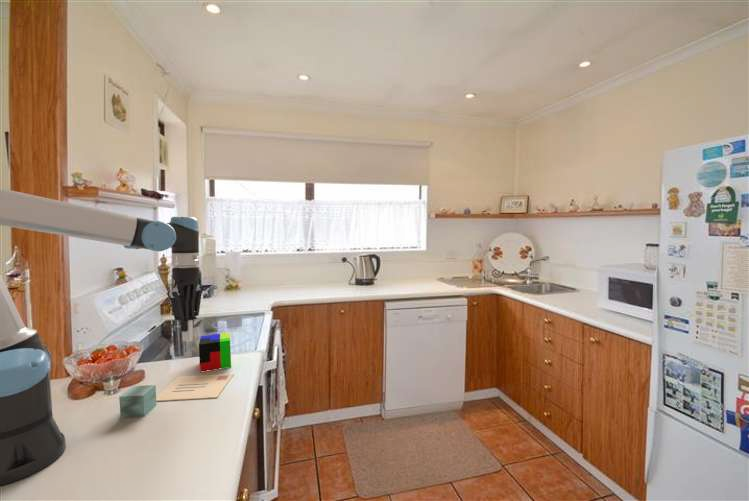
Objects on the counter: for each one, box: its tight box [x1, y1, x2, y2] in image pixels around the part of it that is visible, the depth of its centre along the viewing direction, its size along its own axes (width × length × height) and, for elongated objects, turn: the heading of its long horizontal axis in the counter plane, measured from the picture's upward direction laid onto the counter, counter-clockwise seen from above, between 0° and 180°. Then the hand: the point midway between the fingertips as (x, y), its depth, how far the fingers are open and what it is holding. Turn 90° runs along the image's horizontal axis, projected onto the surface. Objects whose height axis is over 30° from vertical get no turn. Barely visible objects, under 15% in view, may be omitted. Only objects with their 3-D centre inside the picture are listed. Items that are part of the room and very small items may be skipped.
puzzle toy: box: [198, 332, 232, 373], centre depth 124 cm, size 10×10×10 cm
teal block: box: [118, 384, 157, 419], centre depth 93 cm, size 6×6×6 cm
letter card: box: [156, 373, 235, 402], centre depth 107 cm, size 18×16×1 cm
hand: (187, 340), depth 107 cm, fingers closed
